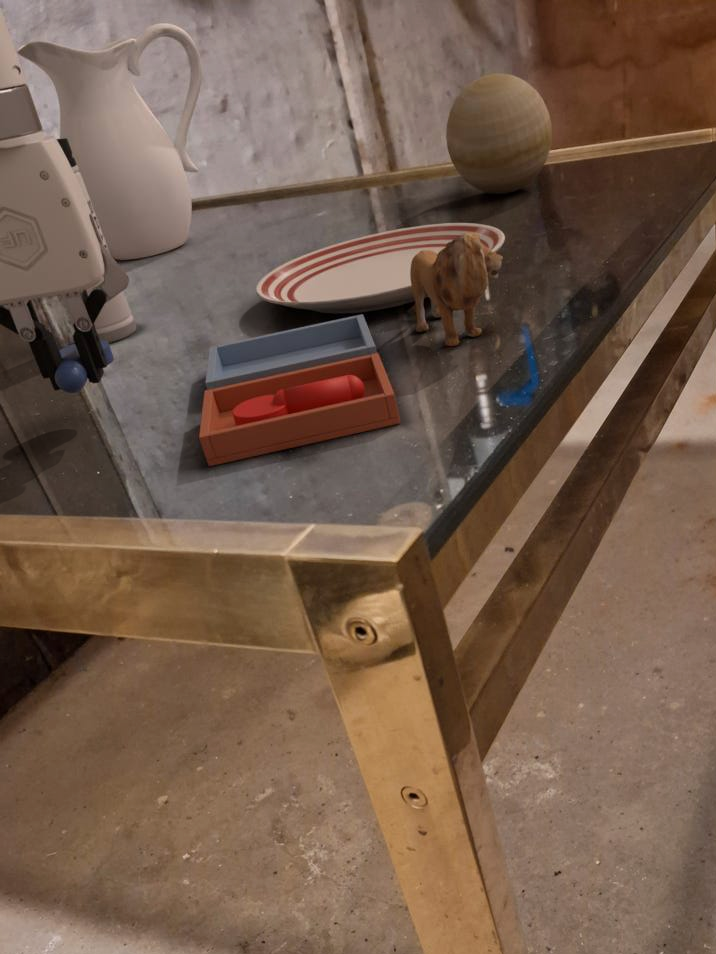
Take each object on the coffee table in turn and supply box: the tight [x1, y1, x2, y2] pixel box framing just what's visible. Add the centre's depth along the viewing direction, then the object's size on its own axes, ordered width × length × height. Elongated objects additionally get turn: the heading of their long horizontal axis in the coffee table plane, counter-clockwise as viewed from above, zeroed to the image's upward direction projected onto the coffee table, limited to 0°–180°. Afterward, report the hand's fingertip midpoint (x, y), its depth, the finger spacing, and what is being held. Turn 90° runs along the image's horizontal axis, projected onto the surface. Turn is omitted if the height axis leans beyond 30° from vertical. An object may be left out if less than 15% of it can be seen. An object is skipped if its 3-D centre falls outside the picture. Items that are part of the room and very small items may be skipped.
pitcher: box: [16, 22, 203, 261], centre depth 133 cm, size 24×17×28 cm
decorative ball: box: [445, 72, 553, 195], centre depth 130 cm, size 15×15×15 cm
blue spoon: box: [55, 340, 115, 394], centre depth 75 cm, size 10×4×2 cm, turn 12°
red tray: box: [198, 352, 401, 467], centre depth 71 cm, size 14×10×2 cm
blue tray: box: [204, 314, 378, 390], centre depth 81 cm, size 14×10×2 cm
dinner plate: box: [255, 222, 506, 314], centre depth 100 cm, size 28×27×3 cm
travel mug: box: [56, 138, 138, 344], centre depth 96 cm, size 6×7×20 cm
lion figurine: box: [406, 233, 504, 347], centre depth 82 cm, size 15×5×9 cm, turn 35°
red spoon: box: [232, 375, 365, 426], centre depth 71 cm, size 10×4×2 cm, turn 102°
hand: (79, 379), depth 74 cm, fingers closed on blue spoon, 2 cm apart
